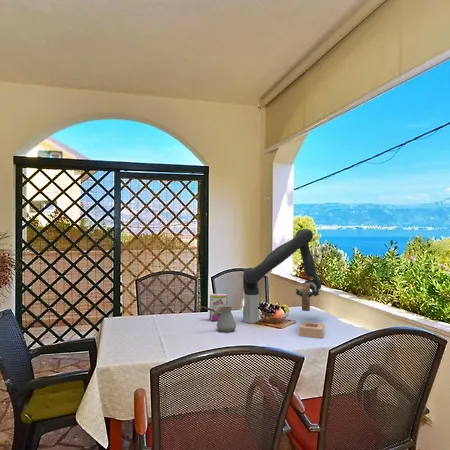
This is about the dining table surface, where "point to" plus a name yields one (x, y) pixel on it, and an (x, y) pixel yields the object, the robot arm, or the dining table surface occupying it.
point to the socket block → (311, 329)
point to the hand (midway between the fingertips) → (305, 294)
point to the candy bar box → (217, 305)
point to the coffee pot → (224, 319)
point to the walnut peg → (305, 296)
